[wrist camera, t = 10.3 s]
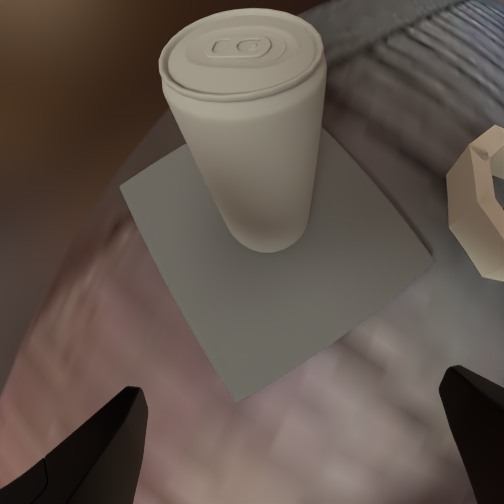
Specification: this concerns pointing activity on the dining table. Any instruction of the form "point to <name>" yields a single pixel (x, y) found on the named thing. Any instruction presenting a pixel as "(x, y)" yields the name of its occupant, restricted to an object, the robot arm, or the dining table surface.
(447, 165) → the dining table surface
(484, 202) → the holder ring
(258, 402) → the dining table surface
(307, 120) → the beverage can
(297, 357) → the rubber mat
